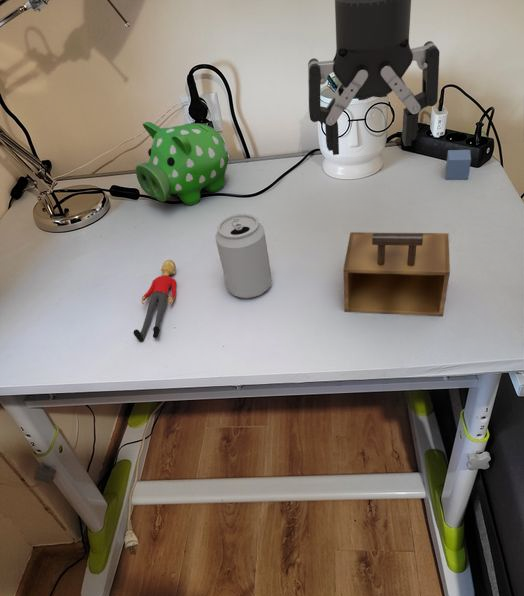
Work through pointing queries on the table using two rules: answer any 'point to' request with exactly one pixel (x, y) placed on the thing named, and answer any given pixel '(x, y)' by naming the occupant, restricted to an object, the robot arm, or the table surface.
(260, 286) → the can
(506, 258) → the table surface
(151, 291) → the person figure
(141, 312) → the table surface
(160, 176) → the piggy bank
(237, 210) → the table surface
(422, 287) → the drawer
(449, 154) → the slate blue cube
